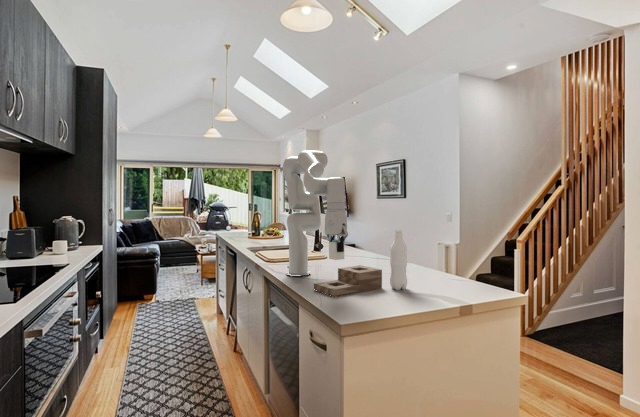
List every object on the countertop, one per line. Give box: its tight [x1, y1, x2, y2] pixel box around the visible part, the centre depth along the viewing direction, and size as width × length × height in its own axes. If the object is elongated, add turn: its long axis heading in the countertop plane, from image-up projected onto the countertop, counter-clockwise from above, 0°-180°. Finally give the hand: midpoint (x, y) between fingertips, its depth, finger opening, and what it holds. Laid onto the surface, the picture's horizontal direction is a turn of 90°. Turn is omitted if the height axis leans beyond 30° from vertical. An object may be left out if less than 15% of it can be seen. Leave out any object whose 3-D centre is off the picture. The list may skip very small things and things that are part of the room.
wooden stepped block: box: [313, 264, 383, 298], centre depth 165 cm, size 14×26×8 cm, turn 125°
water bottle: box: [389, 229, 408, 291], centre depth 165 cm, size 7×7×25 cm
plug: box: [328, 239, 345, 261], centre depth 160 cm, size 4×4×8 cm
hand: (336, 250), depth 160 cm, fingers closed on plug, 4 cm apart
